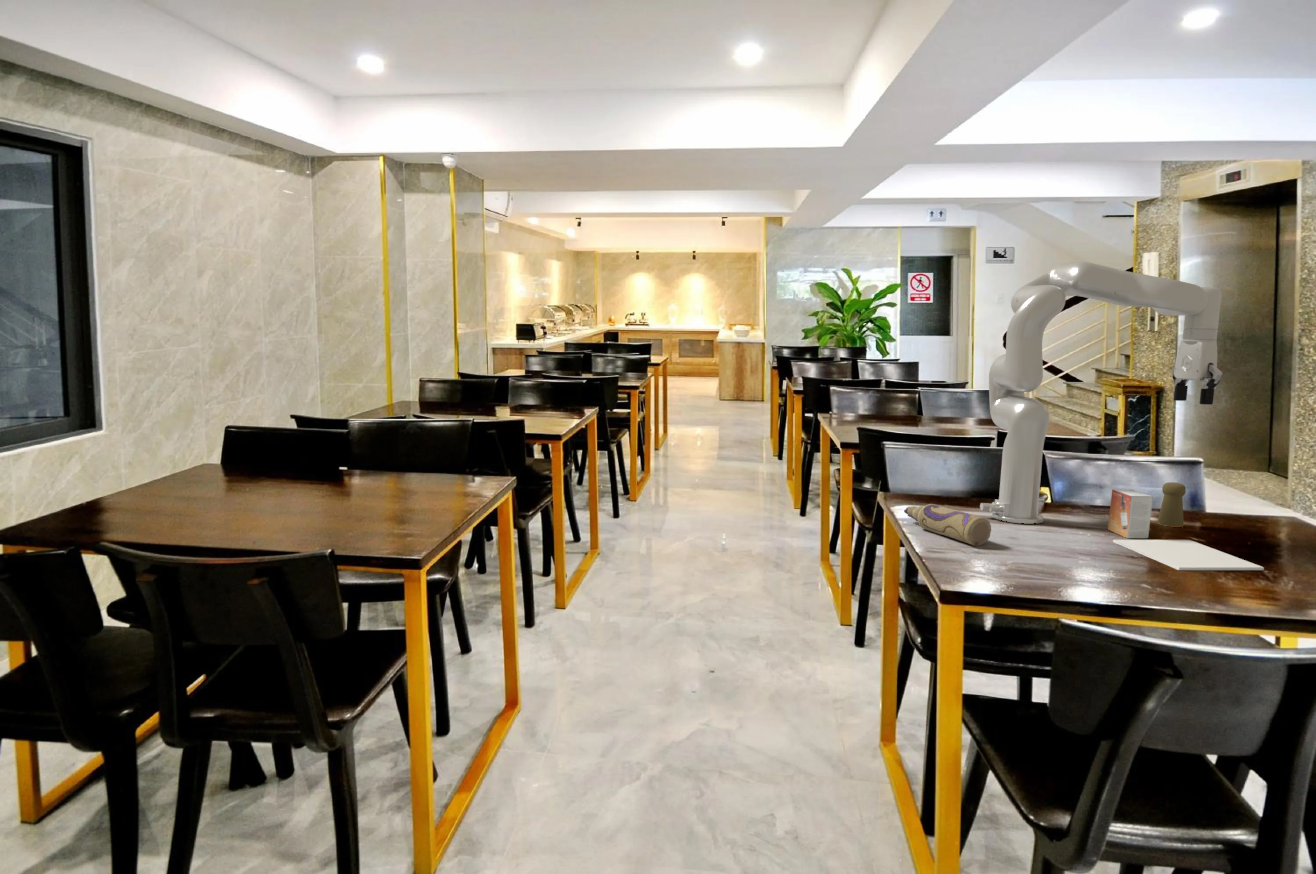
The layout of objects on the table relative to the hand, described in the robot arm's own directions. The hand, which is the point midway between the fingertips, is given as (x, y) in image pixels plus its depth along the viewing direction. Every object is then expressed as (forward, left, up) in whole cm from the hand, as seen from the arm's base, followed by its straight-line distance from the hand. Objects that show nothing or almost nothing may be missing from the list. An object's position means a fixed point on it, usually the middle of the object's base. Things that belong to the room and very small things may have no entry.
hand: (1192, 402), depth 229 cm
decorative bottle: (-71, -15, -32) cm, 79 cm away
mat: (-24, -35, -31) cm, 53 cm away
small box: (-25, -16, -31) cm, 43 cm away
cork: (-7, -6, -31) cm, 33 cm away
